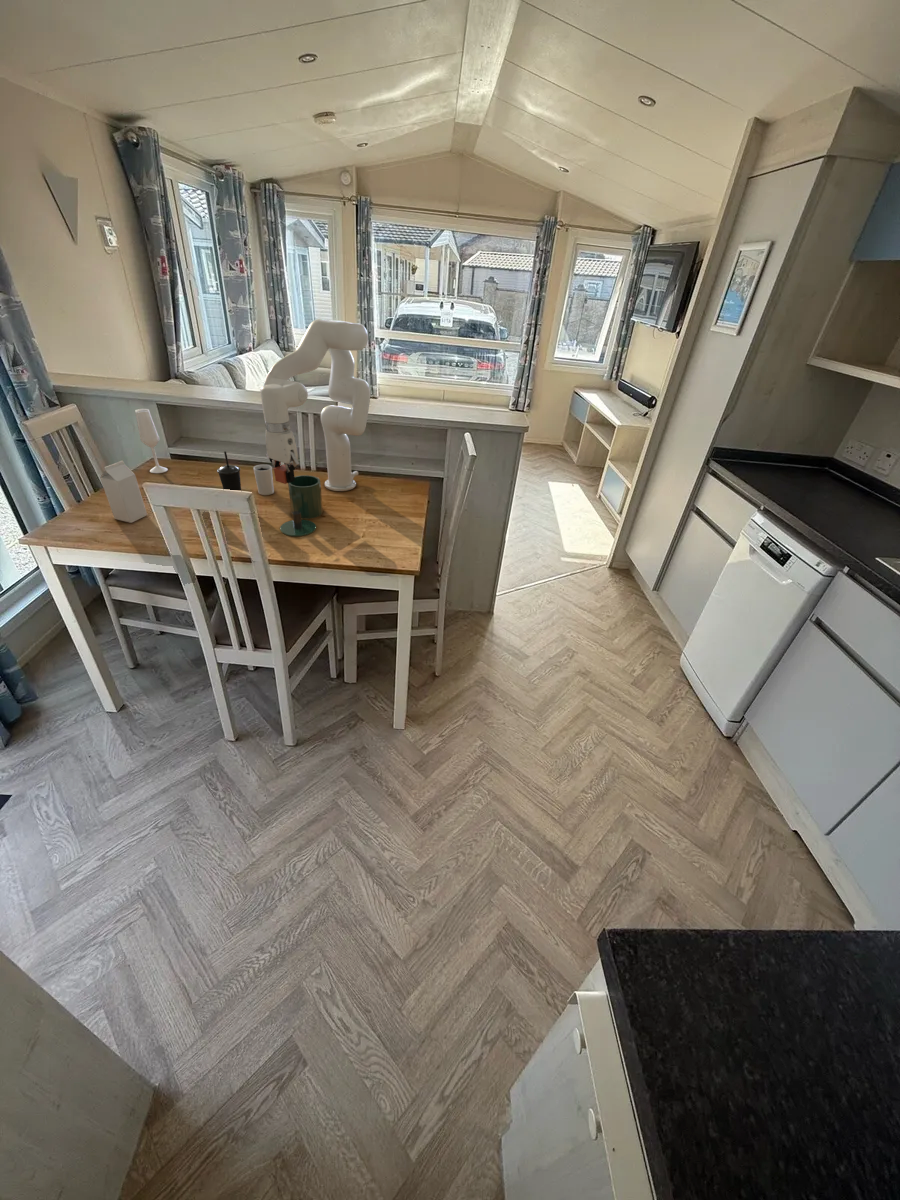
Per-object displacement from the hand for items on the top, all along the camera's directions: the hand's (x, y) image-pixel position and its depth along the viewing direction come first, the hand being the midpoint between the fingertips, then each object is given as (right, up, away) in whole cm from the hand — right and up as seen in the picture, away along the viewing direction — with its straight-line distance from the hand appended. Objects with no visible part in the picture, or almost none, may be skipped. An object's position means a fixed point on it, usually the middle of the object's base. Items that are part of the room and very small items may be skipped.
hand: (285, 479), depth 173 cm
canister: (+4, -10, +12) cm, 16 cm away
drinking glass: (-16, +1, +25) cm, 29 cm away
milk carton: (-53, -13, +1) cm, 55 cm away
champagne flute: (-64, +12, +36) cm, 75 cm away
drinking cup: (-23, -6, +14) cm, 28 cm away
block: (0, 0, 0) cm, 0 cm away
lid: (+4, -17, +1) cm, 17 cm away
